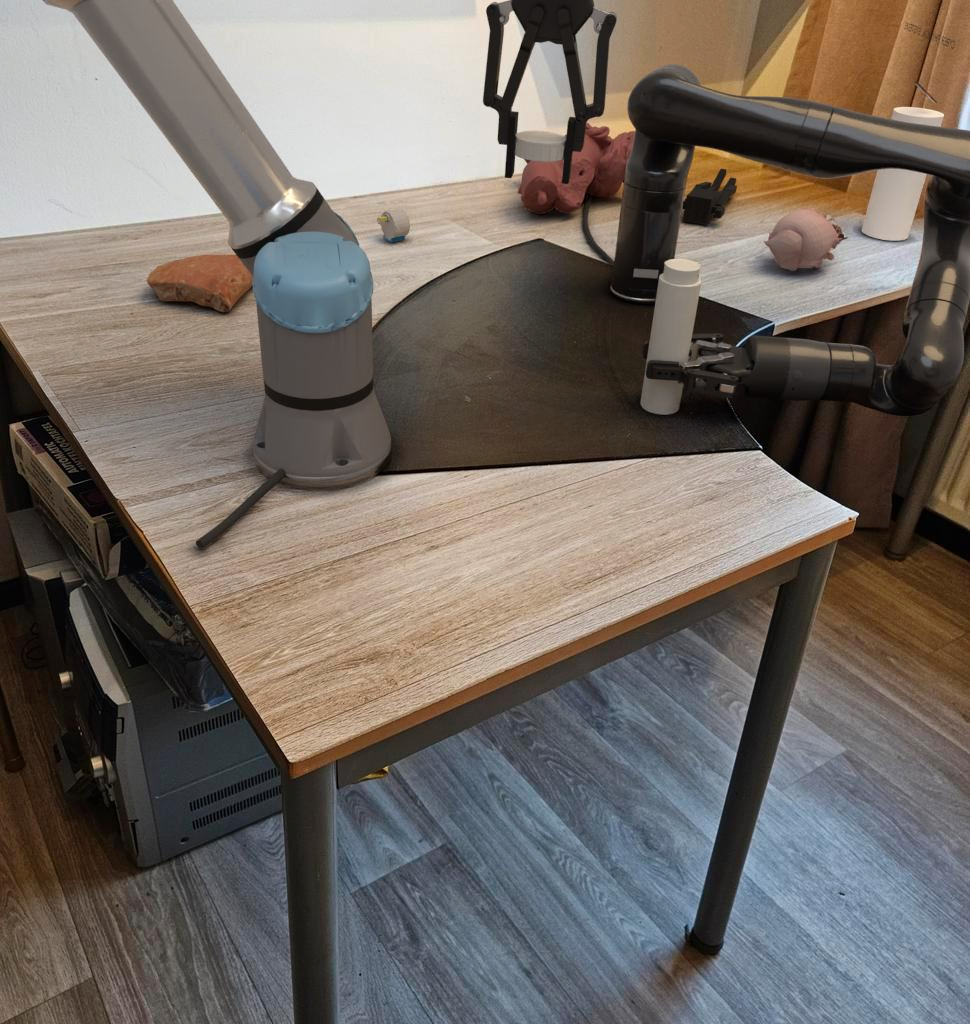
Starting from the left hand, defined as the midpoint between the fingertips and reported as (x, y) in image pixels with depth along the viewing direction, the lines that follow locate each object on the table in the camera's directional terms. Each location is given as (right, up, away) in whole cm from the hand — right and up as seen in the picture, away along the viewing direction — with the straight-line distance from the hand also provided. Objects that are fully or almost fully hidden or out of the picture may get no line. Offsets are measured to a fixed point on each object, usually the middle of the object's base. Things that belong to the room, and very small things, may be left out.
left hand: (537, 177), depth 108 cm
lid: (0, +3, -2) cm, 4 cm away
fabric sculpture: (+12, +24, +84) cm, 88 cm away
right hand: (+14, -19, +10) cm, 26 cm away
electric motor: (-22, +10, +61) cm, 65 cm away
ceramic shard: (-48, -4, +38) cm, 61 cm away
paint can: (+70, +16, +77) cm, 105 cm away
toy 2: (+48, +5, +59) cm, 76 cm away
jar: (+16, -24, +13) cm, 32 cm away
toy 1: (+40, +25, +87) cm, 99 cm away
